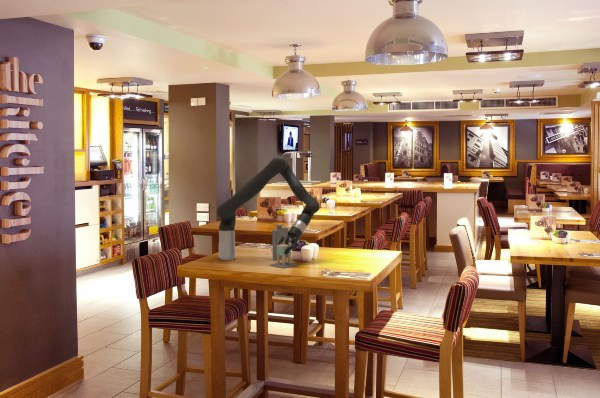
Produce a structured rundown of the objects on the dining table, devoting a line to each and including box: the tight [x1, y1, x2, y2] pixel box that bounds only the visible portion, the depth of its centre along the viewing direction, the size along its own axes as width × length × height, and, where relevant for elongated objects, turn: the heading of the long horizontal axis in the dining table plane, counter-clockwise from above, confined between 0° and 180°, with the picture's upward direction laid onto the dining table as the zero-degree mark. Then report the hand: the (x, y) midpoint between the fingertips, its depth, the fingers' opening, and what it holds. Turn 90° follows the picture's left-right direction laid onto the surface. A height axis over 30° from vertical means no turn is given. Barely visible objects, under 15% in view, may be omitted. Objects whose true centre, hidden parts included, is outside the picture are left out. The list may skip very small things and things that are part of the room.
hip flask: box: [271, 224, 289, 261], centre depth 368 cm, size 16×4×20 cm, turn 152°
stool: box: [276, 244, 292, 265], centre depth 344 cm, size 6×6×11 cm
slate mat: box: [269, 261, 299, 269], centre depth 344 cm, size 11×11×1 cm
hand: (281, 253), depth 343 cm, fingers open, 6 cm apart
